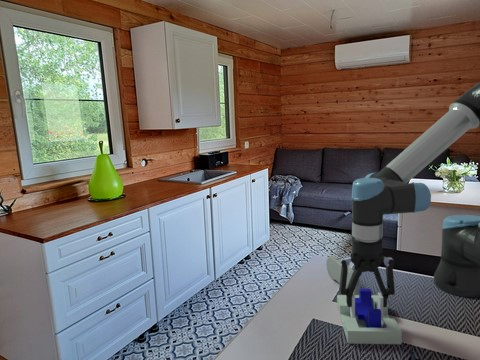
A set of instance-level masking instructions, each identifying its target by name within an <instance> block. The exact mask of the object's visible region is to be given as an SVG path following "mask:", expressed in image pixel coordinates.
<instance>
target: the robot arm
mask: <svg viewBox="0 0 480 360" xmlns="http://www.w3.org/2000/svg"><path fill="white" fill-rule="evenodd" d="M479 126H480V81H479V82H477V83H476V84H475V85H473V86H472V87H470V88H469V89H467V90H466V91H465V92H464V93H462V94H461V95H460V96H459V97H457V99H455V100H454V101H453V102H452V103H450V105H449V107H448V111H447V112H446V113H445V114H444V115H442V116H441V118H439V119H438V120H437V121H436V122H435V123H434V124H432V125H431V126H430V127H429V128H428V129H427V130H425V131H424V132H423V133H422V134H421V135H420V136H419V137H417V138H416V139H415V140H414V141H412V143H410V144H409V145H408V146H407V147H405V148H404V150H403V151H402V152H400V153H399V154H398V155H397V156H396V157H395V158H394V159H392V160H391V161H390V162H389V163H388V164H386V166H384V167H383V168H382V169H381V170H380V171H379V172H372V173H368V174H367V175H366V176H364V177H361V178H357V179H354V181H353V182H352V187H351V197H350V198H351V217H352V218H351V236H352V237H351V254H350V256H348V257H343V256H341V257H340V258H339V259H340V261H341V264H342V268H341V277H340V284H339V286H338V287H339V292H340V295H346V303H347V306H348V307H350V315H351V318H355V296H354V294H353V292H354V290H355V287H356V285H357V282H358V280H360V277H361V276H362V274H363V273H366V272H369V273H373V274H374V277H375V279H376V283H377V285H378V287H379V291H380V292H377V295H378V309H380V310H381V320H383V307H386V306H387V305H388V299H389V297H390V295H391V296H394V295H395V294H396V290H395V278H394V267H395V263H396V261H395V260H394V259H393V257H392V256H388V257H387V256H384V255H383V239H382V238H383V234H384V233H383V232H384V231H383V230H384V229H383V227H384V226H383V222H384V221H383V220H384V215H395V214H396V215H398V214H409V213H413V214H414V213H417V212H423V211H426V210H428V209H429V208H430V205H431V203H432V194H431V191H430V189H429V187H428V186H427V185H426V184H425V183H423V182H413V181H412V182H409V181H411V180H412V179H413V178H414V177H416V175H418V174H419V173H420V172H421V171H423V170H424V169H425V167H428V165H429V164H430V163H432V162H433V161H434V160H435V159H436V158H438V157H439V156H440V155H441V154H442V153H444V152H445V151H446V150H447V149H448V148H449V147H451V146H452V145H453V144H454V143H455V142H456V141H457V140H459V139H460V138H461V137H462V136H463V135H464V134H466V132H468V131H469V130H470V129H471V130H473V129H476V128H479ZM408 182H409V183H408ZM442 222H443V223H442V228H441V230H442V232H441V257H440V261H439V263H438V265H437V268H436V270H435V272H434V274H433V283H434V285H435V286H436V287H437V288H439V289H440V290H441V291H443V292H446V293H448V294H451V295H455V296H458V297H464V298H480V215H474V214H472V215H471V214H453V215H448V216H446V217H445V218H444V219H443V221H442ZM351 263H352V264H353V265H354V268H353V274H352V276H351V279H350V281H349V284H348V287H347V289H346V282H347V273H348V268H347V267H348V266H349V267H350V264H351ZM382 263H384V266H385V275H386V286H387V287H385V284H384V282H383V279H382V276H381V273H380V270H379V267H380V266H381V265H382Z"/></svg>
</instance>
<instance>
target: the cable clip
mask: <svg viewBox="0 0 480 360" xmlns="http://www.w3.org/2000/svg"><path fill="white" fill-rule="evenodd" d="M371 295H372V290H371V288H361V289H359V298H355V312H356V315H357V318H358V319H364V321H365V324H366V327H367V328H381V310H380V309H373V305H372V296H371Z"/></svg>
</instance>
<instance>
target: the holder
mask: <svg viewBox="0 0 480 360" xmlns="http://www.w3.org/2000/svg"><path fill="white" fill-rule="evenodd" d="M336 295H337V296H336V306H337V309H338V314H339V317H340V320H341V325H342V329H343V331H344V334H345V337H346V342H347V344H356V345H357V344H359V345H360V344H361V345H362V344H363V345H365V344H366V345H368V344H369V345H370V344H371V345H402V337H403V336H402V335H403V332H402V330H401V328H400V326H399V323H398V322H397V320H396V318H394V317H391V318H390V316H389V311H388V310H389V306H388V304H387V306H386V307H383V320H381V328H367V327H366V324H365V321H364V319H358V318H357V315H356V312H355V318H351V315H350V307H348V306H347V303H346V295H342V294H336ZM354 296H355V298H359V295H354ZM371 296H372V305H373V309H378V294H371Z"/></svg>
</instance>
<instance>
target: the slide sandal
mask: <svg viewBox="0 0 480 360" xmlns="http://www.w3.org/2000/svg"><path fill="white" fill-rule="evenodd" d="M325 265H326V271H327V273H328V276H329V277H330V279H331V280H333V281H336V282H337V283H338V284H339V285H340V277H341V268H342V264H341V261H340V258H339V257H337V256H336V255H334V254H333V255H332V254H331V255H330V256H328V257H327V259H326V264H325ZM347 268H348V273H347V282H346V289H347V287H348V284H349V281H350V279H351V276H352V274H353V271H354V269H352V268H351V267H350V265H349V266H348V267H347ZM359 289H362V287H361V281H360V279H359V280H358V282H357V285H356V287H355V290H354V292H353V294H354V295H359Z"/></svg>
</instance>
